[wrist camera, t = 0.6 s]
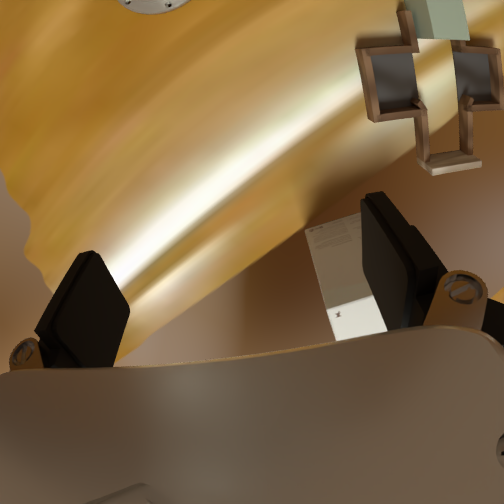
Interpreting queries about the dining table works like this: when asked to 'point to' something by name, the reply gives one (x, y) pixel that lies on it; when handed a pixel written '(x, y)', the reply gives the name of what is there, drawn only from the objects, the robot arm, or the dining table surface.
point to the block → (439, 19)
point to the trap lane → (408, 105)
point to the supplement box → (344, 278)
